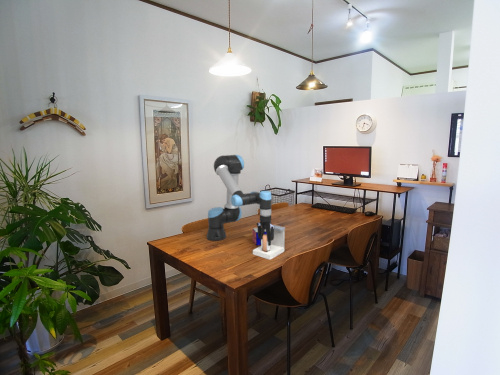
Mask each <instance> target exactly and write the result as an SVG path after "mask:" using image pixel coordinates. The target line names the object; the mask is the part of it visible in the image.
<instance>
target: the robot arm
mask: <svg viewBox="0 0 500 375" xmlns="http://www.w3.org/2000/svg"><path fill="white" fill-rule="evenodd" d="M244 168H245V162H244V159H243V156H241V155H239V154H230V155H229V154H227V155H226V154H225V155H220V156H218V157H216V159H215V160H214V162H213V169H214V172H215V174H216V175H217V176H219V178H220V180H221V181H222V183H223V185H224V186H225V188H226V203H225V204H224V207H221V206H217V207H212V208H210V209H208V211H207V212H208V213H207V221H208V222H207V223H208V229H207V234H206V239H207V240H208V241H211V242H212V241H215V242H216V241H222V240H225V239H226V238H227V233H226V231H225V227H224V224H229V223H234V222H238V221H240V219H241V218H242V214H243V212H242V208H241V207H243V206H250V205H256V204H257V205H259V222H257V223H256V226H257V227H256V228H257V229H258V238H260V243H261V245H260V246H261V249H263V234H264V232H265V229H266V233H267V239H268V240H267V251H268V250H270V245H271V241H272V240H274V228H275V226H273V225H274V224H272V198H273V197H272V192H271V191H270V190H262V191H259V192H258V191H253V190H252V191H251V192H249V193H243V190H242V189H241V188H240V187H239V176H240V174H241V172H242V171H243V170H244ZM270 227H271V229H270Z"/></svg>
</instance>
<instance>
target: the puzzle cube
mask: <svg viewBox="0 0 500 375" xmlns="http://www.w3.org/2000/svg"><path fill="white" fill-rule="evenodd" d="M264 234H267V233H266V229H265V232H264ZM252 242H253V243H254V245H256V246H261V243H260V238H258V229H257V227H253V228H252Z"/></svg>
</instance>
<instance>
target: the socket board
mask: <svg viewBox="0 0 500 375" xmlns="http://www.w3.org/2000/svg"><path fill="white" fill-rule="evenodd" d="M272 225H273V226H275V228H274V240H272V241H271V245H270V250H268V252H264V251H263V249H261V245H259V246H258V247H256V248H254V249H253V250H252V255H254V256H257V257H261V258H263V259H266V260H269V261H270V260H272V259H274V258H276V257H278V256H279V255H280V254H283V253H284V252H285V239H286V238H285V236H286V235H285V234H286V233H285V232H286V227H285V226H280V225H275V224H272ZM270 229H271V227H270Z"/></svg>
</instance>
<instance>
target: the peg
mask: <svg viewBox="0 0 500 375" xmlns="http://www.w3.org/2000/svg"><path fill="white" fill-rule="evenodd" d="M267 240H268V239H267V234H263V251H264V252H268V251H267Z"/></svg>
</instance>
